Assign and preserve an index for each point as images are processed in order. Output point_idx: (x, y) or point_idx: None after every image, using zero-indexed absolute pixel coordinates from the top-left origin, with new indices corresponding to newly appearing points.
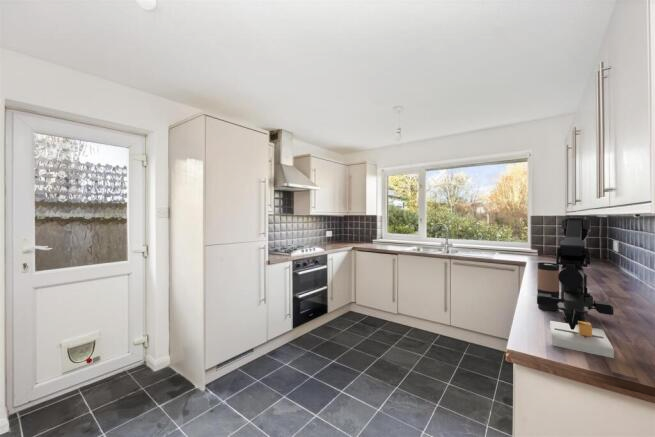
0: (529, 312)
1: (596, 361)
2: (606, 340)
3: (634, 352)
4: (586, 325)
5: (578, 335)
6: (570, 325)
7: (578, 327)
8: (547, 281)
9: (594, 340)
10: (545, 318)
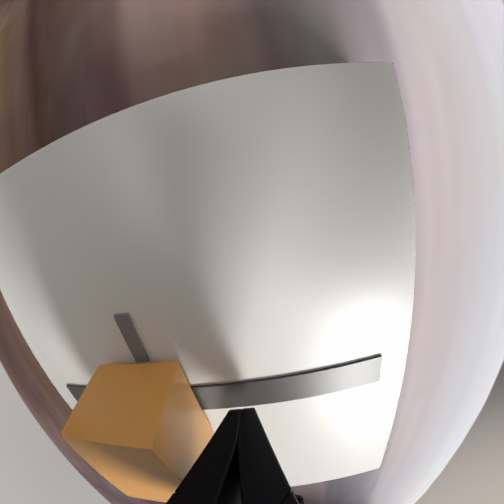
0: (411, 486)
1: (66, 26)
2: (43, 357)
3: (16, 351)
4: (99, 447)
5: (185, 350)
6: (255, 435)
7: (197, 445)
8: None
9: (67, 303)
10: (369, 487)
